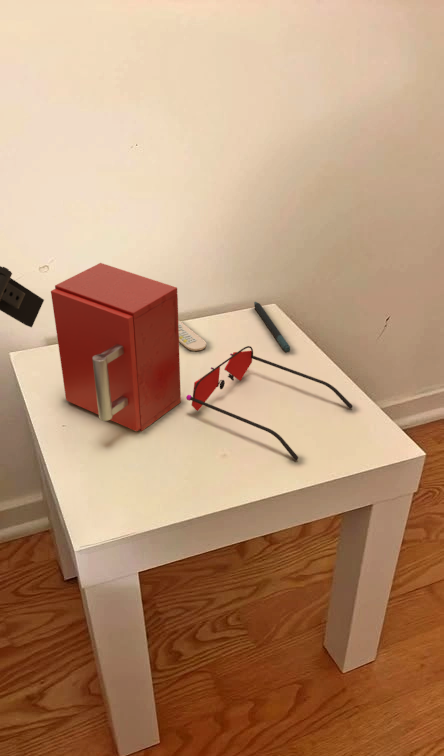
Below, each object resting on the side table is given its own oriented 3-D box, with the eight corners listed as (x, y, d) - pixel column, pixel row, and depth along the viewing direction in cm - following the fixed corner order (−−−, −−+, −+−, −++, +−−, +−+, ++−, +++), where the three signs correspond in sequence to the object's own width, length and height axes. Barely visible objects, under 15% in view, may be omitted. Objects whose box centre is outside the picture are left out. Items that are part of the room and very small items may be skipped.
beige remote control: (156, 319, 117) (173, 314, 118) (156, 322, 117) (173, 317, 119) (192, 348, 110) (210, 343, 111) (192, 352, 111) (210, 347, 112)
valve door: (113, 448, 92) (101, 334, 83) (41, 415, 97) (23, 304, 88) (140, 428, 95) (132, 315, 86) (70, 397, 101) (55, 288, 91)
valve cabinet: (141, 431, 96) (133, 313, 86) (70, 400, 101) (54, 285, 91) (181, 402, 101) (177, 287, 91) (111, 374, 106) (100, 262, 96)
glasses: (246, 369, 107) (247, 336, 104) (352, 408, 100) (357, 375, 97) (184, 415, 99) (184, 381, 95) (296, 462, 91) (299, 427, 88)
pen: (257, 305, 123) (258, 298, 122) (290, 352, 111) (291, 345, 111) (251, 305, 123) (251, 298, 122) (283, 353, 111) (284, 346, 110)
